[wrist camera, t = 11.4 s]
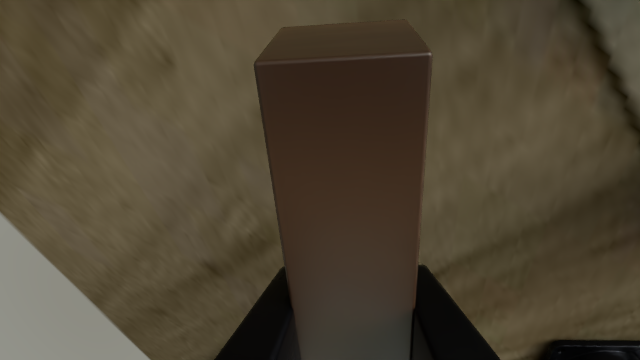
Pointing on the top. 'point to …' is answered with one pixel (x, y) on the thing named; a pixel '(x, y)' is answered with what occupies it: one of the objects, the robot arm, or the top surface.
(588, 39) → the top surface
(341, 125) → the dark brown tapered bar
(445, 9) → the top surface
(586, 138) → the top surface
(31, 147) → the top surface
